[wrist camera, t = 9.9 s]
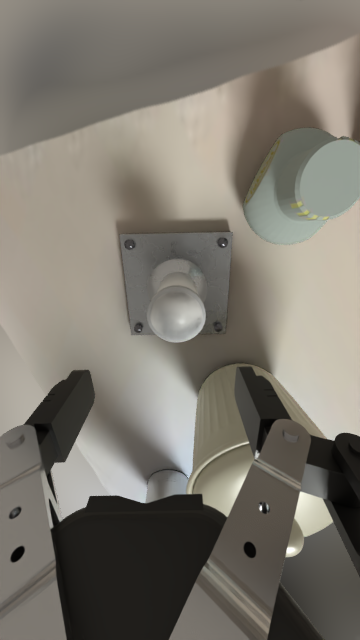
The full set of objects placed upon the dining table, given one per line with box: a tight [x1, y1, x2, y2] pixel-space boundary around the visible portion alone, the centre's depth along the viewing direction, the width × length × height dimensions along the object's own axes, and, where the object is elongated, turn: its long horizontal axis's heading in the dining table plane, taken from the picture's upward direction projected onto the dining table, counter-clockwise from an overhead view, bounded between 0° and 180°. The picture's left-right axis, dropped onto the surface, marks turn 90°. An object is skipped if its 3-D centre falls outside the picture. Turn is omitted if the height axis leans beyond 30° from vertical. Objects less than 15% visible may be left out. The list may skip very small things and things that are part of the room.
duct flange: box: [119, 232, 233, 335], centre depth 30 cm, size 14×14×2 cm
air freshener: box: [243, 128, 360, 245], centre depth 22 cm, size 11×8×10 cm
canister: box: [186, 363, 333, 557], centre depth 29 cm, size 18×18×21 cm
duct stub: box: [147, 272, 206, 342], centre depth 25 cm, size 6×6×9 cm
